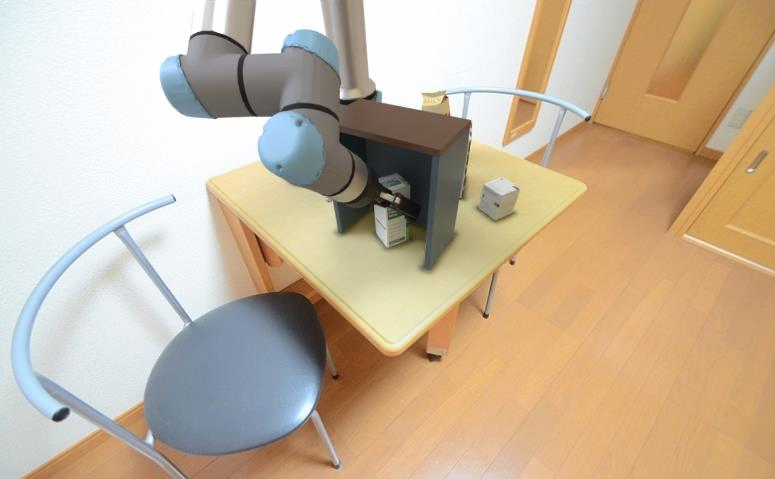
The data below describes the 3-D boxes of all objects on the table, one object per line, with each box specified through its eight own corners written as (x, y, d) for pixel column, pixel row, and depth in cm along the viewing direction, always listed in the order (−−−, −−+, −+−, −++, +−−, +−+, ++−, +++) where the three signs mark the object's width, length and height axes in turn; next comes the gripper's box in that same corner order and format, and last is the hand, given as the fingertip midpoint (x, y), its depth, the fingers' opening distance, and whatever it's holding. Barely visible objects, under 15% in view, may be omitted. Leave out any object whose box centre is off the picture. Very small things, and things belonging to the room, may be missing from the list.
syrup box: (387, 248, 69) (385, 193, 59) (375, 233, 73) (371, 178, 63) (409, 240, 71) (411, 184, 61) (397, 225, 75) (396, 171, 65)
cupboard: (338, 232, 73) (318, 120, 56) (368, 204, 81) (360, 98, 64) (428, 270, 64) (440, 149, 46) (453, 234, 72) (471, 119, 54)
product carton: (477, 208, 79) (482, 183, 74) (495, 200, 81) (501, 175, 76) (495, 221, 75) (502, 195, 70) (513, 213, 77) (521, 187, 72)
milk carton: (451, 153, 100) (459, 86, 87) (438, 165, 95) (445, 96, 81) (425, 146, 104) (429, 81, 91) (412, 158, 98) (414, 90, 85)
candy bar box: (446, 175, 91) (452, 118, 80) (464, 176, 90) (473, 119, 79) (443, 197, 83) (450, 137, 71) (462, 199, 82) (472, 138, 71)
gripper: (291, 184, 53) (356, 210, 74) (396, 223, 45) (435, 240, 66) (307, 142, 53) (367, 180, 74) (414, 174, 45) (448, 207, 66)
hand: (399, 209), depth 70 cm, fingers closed on syrup box, 8 cm apart
